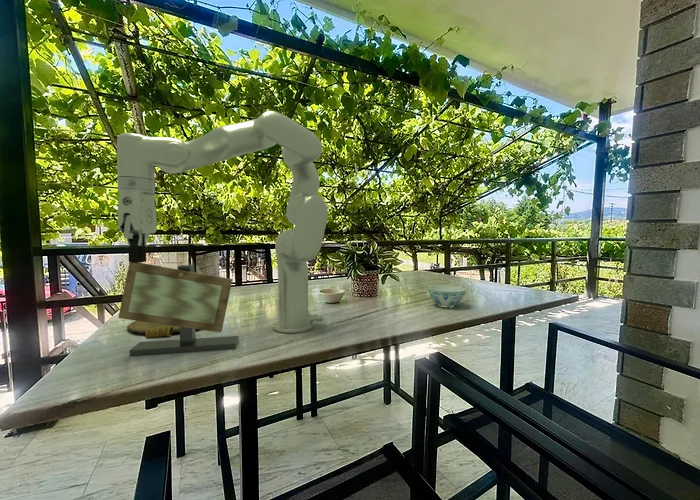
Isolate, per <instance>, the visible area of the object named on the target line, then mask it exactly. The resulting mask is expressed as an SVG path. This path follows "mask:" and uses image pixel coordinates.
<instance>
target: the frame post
mask: <svg viewBox="0 0 700 500" xmlns="http://www.w3.org/2000/svg"><path fill="white" fill-rule="evenodd" d="M194 267H195V266H194V264H181V265H178V266H177V269H178V270H184V271H190V272H195V270H194V269H195V268H194ZM196 335H197V333H196V329H192V328H185V327H180V332H179V339H167V340H164V339H163V340H154V341H153V340H151V341H150V340H148V341H139V342H138V343H137V344H135V345H134V346H133V347H131V348H130V349H129V350H128V351H129V353H128V354H129V357H134V356H135V357H136V356H137V357H138V356H149V355H151V356H152V355H167V354H177V353H178V354H181V353H194V352H195V353H196V352H198V353H199V352H209V351H224V350H236V349H237V346H238V344H239V339H240V337H239V336H240V335H235V336H234V335H232V336H230V335H229V336H217V337H214V336H213V337H200V338H198V337H197V336H196Z"/></svg>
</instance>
